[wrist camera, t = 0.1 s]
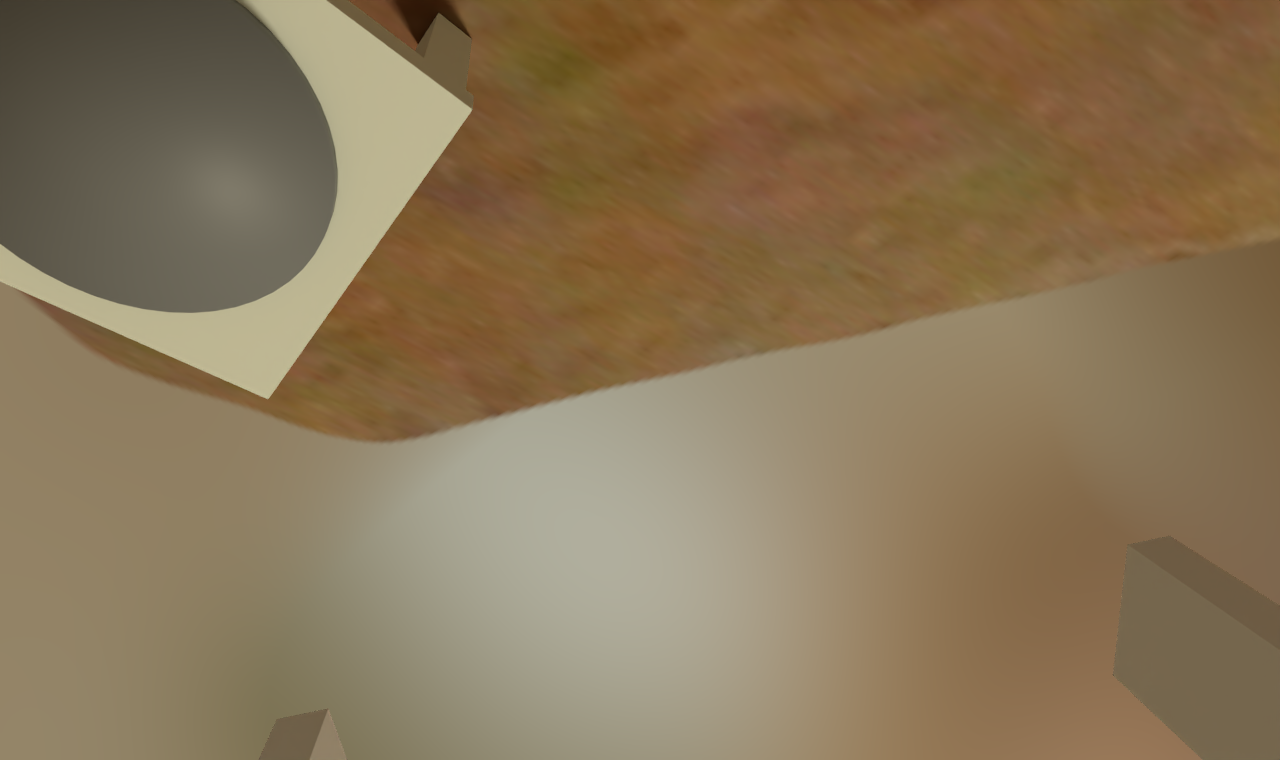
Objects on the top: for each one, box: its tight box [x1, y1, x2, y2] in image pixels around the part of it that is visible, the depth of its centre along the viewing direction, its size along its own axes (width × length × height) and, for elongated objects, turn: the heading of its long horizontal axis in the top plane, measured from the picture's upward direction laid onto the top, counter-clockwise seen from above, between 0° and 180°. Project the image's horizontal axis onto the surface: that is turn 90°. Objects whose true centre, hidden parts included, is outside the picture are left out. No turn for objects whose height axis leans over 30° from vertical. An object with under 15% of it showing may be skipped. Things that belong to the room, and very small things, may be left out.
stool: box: [0, 0, 474, 399], centre depth 25 cm, size 14×14×11 cm
